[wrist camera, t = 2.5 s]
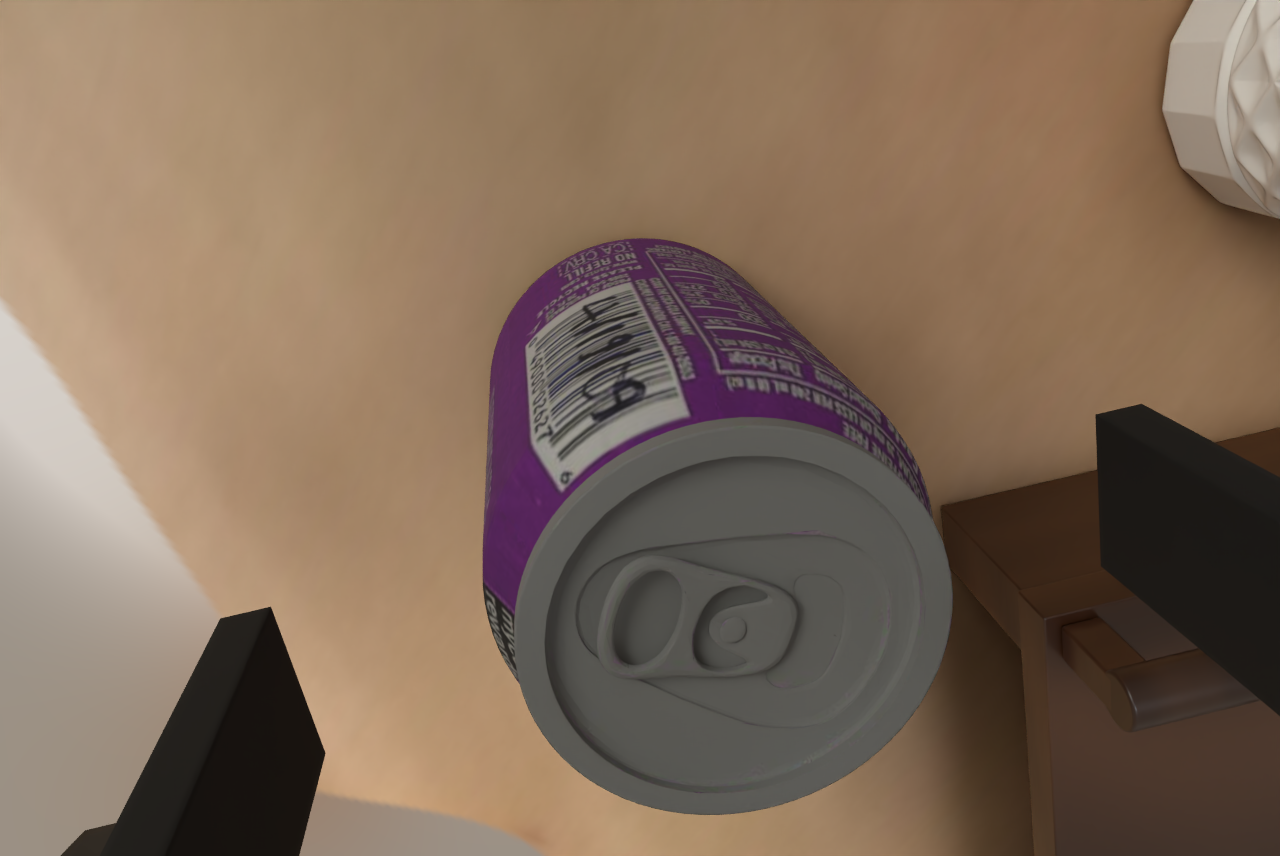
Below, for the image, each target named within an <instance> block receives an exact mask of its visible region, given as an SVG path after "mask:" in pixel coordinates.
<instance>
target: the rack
mask: <svg viewBox="0 0 1280 856" xmlns="http://www.w3.org/2000/svg"><path fill="white" fill-rule="evenodd" d="M1216 444H1218V445H1220V446H1222V447H1224V448H1225V449H1227V450H1229V451H1231V452H1233V453H1235V454H1237V455H1239V456H1241V457H1242V458H1244V459H1246V460H1248V461H1250V462H1252V463H1254V464H1256V465H1258V466H1259V467H1261V468H1263V469H1265V470H1267V471H1269V472H1271V473H1273V474H1274V475H1276V476H1278V477H1280V428H1276V429H1272V430H1268V431H1263V432H1259V433H1255V434H1251V435H1246V436H1242V437H1238V438H1233V439H1229V440H1225V441H1221V442H1216ZM941 513H942V524H943V535H944V546H945V551H946V554H947V558H948V561H949V567H950V568H951V569H952V570H953V572H954V573H955V574H956V575H957V576H958V577H959V578H960V580H961V581H962V582H963V583H964V584H965V585H966V587H967V588H968V589H969V590H970V591H971V592H972V594H973V595H974V596H975V597H976V598H977V599H978V601H979V602H980V603H981V604H982V605H983V606H984V608H985V609H986V610H987V611H988V612H989V613H990V615H991V616H992V617H993V618H994V619H995V620H996V621H997V623H998V624H999V625H1000V626H1001V627H1002V628H1003V630H1004V631H1005V632H1006V633H1007V634H1008V635H1009V637H1010V638H1011V639H1012V640H1013V641H1014V642H1015V644H1016V645H1017V646H1018V647H1019V648H1020V649H1021V652H1022V668H1023V685H1024V701H1025V717H1026V733H1027V749H1028V765H1029V782H1030V798H1031V814H1032V830H1033V846H1034V856H1280V716H1279V715H1278V714H1277V713H1275V712H1274V711H1273V710H1272V709H1271V708H1269V707H1268V706H1267V705H1266V704H1265V703H1264V702H1262V701H1261V700H1260V699H1259V698H1258V697H1256V696H1255V695H1254V694H1253V693H1252V692H1250V691H1249V690H1248V689H1247V688H1246V687H1244V686H1243V685H1242V684H1241V683H1240V682H1238V681H1237V680H1236V679H1235V678H1234V677H1232V676H1231V675H1230V674H1229V673H1228V672H1226V671H1225V670H1224V669H1223V668H1222V667H1221V666H1219V665H1218V664H1217V663H1216V662H1215V661H1213V660H1212V659H1211V658H1210V657H1209V656H1207V655H1206V654H1205V653H1204V652H1203V651H1201V650H1200V649H1199V648H1198V647H1197V646H1195V645H1194V644H1193V643H1192V642H1191V641H1189V640H1188V639H1187V638H1186V637H1185V636H1184V635H1182V634H1181V633H1180V632H1179V631H1178V630H1176V629H1175V628H1174V627H1173V626H1172V625H1170V624H1169V623H1168V622H1167V621H1166V620H1164V619H1163V618H1162V617H1161V616H1160V615H1158V614H1157V613H1156V612H1155V611H1154V610H1152V609H1151V608H1150V607H1149V606H1148V605H1147V604H1145V603H1144V602H1143V601H1142V600H1141V599H1139V598H1138V597H1137V596H1136V595H1135V594H1133V593H1132V592H1131V591H1130V590H1129V589H1127V588H1126V587H1125V586H1124V585H1123V584H1121V583H1120V582H1119V581H1118V580H1117V579H1115V578H1114V577H1113V576H1112V575H1111V574H1110V573H1108V572H1107V571H1106V570H1105V569H1104V568H1102V567H1101V559H1100V529H1099V500H1098V470H1096V471H1092V472H1087V473H1083V474H1079V475H1075V476H1070V477H1066V478H1062V479H1057V480H1053V481H1049V482H1044V483H1040V484H1036V485H1032V486H1027V487H1023V488H1019V489H1014V490H1010V491H1006V492H1002V493H997V494H993V495H989V496H984V497H980V498H976V499H971V500H967V501H963V502H959V503H954V504H950V505H946V506H942V507H941Z"/></svg>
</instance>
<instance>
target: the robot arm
mask: <svg viewBox="0 0 1280 856" xmlns="http://www.w3.org/2000/svg"><path fill="white" fill-rule="evenodd" d="M1096 440H1097V470H1098V500H1099V529H1100V559H1101V567H1102V568H1104V569H1105V570H1106V571H1107V572H1108V573H1110V574H1111V575H1112V576H1113V577H1114V578H1115V579H1117V580H1118V581H1119V582H1120V583H1121V584H1123V585H1124V586H1125V587H1126V588H1127V589H1129V590H1130V591H1131V592H1132V593H1133V594H1135V595H1136V596H1137V597H1138V598H1139V599H1141V600H1142V601H1143V602H1144V603H1145V604H1147V605H1148V606H1149V607H1150V608H1151V609H1152V610H1154V611H1155V612H1156V613H1157V614H1158V615H1160V616H1161V617H1162V618H1163V619H1164V620H1166V621H1167V622H1168V623H1169V624H1170V625H1172V626H1173V627H1174V628H1175V629H1176V630H1178V631H1179V632H1180V633H1181V634H1182V635H1184V636H1185V637H1186V638H1187V639H1188V640H1189V641H1191V642H1192V643H1193V644H1194V645H1195V646H1197V647H1198V648H1199V649H1200V650H1201V651H1203V652H1204V653H1205V654H1206V655H1207V656H1209V657H1210V658H1211V659H1212V660H1213V661H1215V662H1216V663H1217V664H1218V665H1219V666H1221V667H1222V668H1223V669H1224V670H1225V671H1226V672H1228V673H1229V674H1230V675H1231V676H1232V677H1234V678H1235V679H1236V680H1237V681H1238V682H1240V683H1241V684H1242V685H1243V686H1244V687H1246V688H1247V689H1248V690H1249V691H1250V692H1252V693H1253V694H1254V695H1255V696H1256V697H1258V698H1259V699H1260V700H1261V701H1262V702H1264V703H1265V704H1266V705H1267V706H1268V707H1269V708H1271V709H1272V710H1273V711H1274V712H1275V713H1277V714H1278V715H1279V716H1280V477H1278V476H1276V475H1274V474H1273V473H1271V472H1269V471H1267V470H1265V469H1263V468H1261V467H1259V466H1258V465H1256V464H1254V463H1252V462H1250V461H1248V460H1246V459H1244V458H1242V457H1241V456H1239V455H1237V454H1235V453H1233V452H1231V451H1229V450H1227V449H1225V448H1224V447H1222V446H1220V445H1218V444H1216V443H1214V442H1212V441H1210V440H1209V439H1207V438H1205V437H1203V436H1201V435H1199V434H1197V433H1195V432H1193V431H1192V430H1190V429H1188V428H1186V427H1184V426H1182V425H1180V424H1178V423H1176V422H1175V421H1173V420H1171V419H1169V418H1167V417H1165V416H1163V415H1161V414H1160V413H1158V412H1156V411H1154V410H1152V409H1150V408H1148V407H1146V406H1144V405H1143V404H1139V405H1135V406H1131V407H1127V408H1122V409H1118V410H1114V411H1109V412H1105V413H1101V414H1096ZM324 757H325V751H324V748H323V745H322V743H321V740H320V737H319V735H318V732H317V729H316V727H315V724H314V721H313V719H312V716H311V713H310V711H309V708H308V705H307V703H306V700H305V697H304V694H303V692H302V689H301V686H300V684H299V681H298V678H297V676H296V673H295V670H294V668H293V665H292V662H291V660H290V657H289V654H288V652H287V649H286V646H285V644H284V641H283V638H282V635H281V633H280V630H279V627H278V625H277V622H276V619H275V617H274V614H273V611H272V609H271V607H268V608H264V609H259V610H255V611H251V612H247V613H242V614H238V615H234V616H229V617H225V618H221V619H220V620H219V622H218V624H217V626H216V628H215V630H214V632H213V634H212V636H211V638H210V640H209V642H208V644H207V646H206V648H205V650H204V652H203V654H202V656H201V658H200V660H199V662H198V664H197V666H196V667H195V669H194V672H193V673H192V676H191V677H190V679H189V681H188V683H187V685H186V687H185V689H184V691H183V693H182V695H181V697H180V699H179V701H178V703H177V705H176V707H175V709H174V711H173V713H172V715H171V717H170V719H169V721H168V722H167V725H166V727H165V729H164V730H163V733H162V734H161V736H160V738H159V740H158V742H157V744H156V746H155V748H154V750H153V752H152V754H151V756H150V758H149V760H148V762H147V764H146V766H145V768H144V770H143V772H142V774H141V776H140V778H139V780H138V782H137V784H136V786H135V787H134V789H133V791H132V793H131V795H130V797H129V799H128V801H127V803H126V805H125V807H124V809H123V811H122V813H121V815H120V817H119V819H118V821H117V823H114V824H111V825H106V826H102V827H98V828H94V829H90V830H85V831H84V832H83V833H82V834H81V835H80V836H79V837H78V838H77V839H76V840H75V841H74V843H72V844H71V846H69V848H68V849H67V850H66V851H65V852H64V853H63V854H62V855H61V856H299V854H300V850H301V846H302V842H303V839H304V835H305V831H306V826H307V823H308V819H309V815H310V811H311V807H312V803H313V800H314V796H315V792H316V788H317V784H318V780H319V776H320V772H321V768H322V765H323V761H324Z"/></svg>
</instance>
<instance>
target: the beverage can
mask: <svg viewBox="0 0 1280 856" xmlns="http://www.w3.org/2000/svg"><path fill="white" fill-rule="evenodd" d="M483 590H484V599H485V605H486V610H487V615H488V619H489V623H490V626H491V629H492V633H493V636H494V638H495V641H496V643H497V646H498V648H499V650H500V652H501V654H502V656H503V658H504V660H505V662H506V664H507V665H508V667H509V669H510V670H511V672H512V673H513V675H514V677H515V678H516V680H517V681H518V682H519V684H520V686H521V690H522V693H523V696H524V699H525V701H526V704H527V706H528V709H529V711H530V713H531V715H532V717H533V719H534V721H535V722H536V724H537V726H538V727H539V729H540V730H541V732H542V734H543V735H544V736H545V738H546V739H547V740H548V742H549V743H550V744H551V746H552V747H553V748H554V749H555V750H556V751H557V752H558V753H559V755H560V756H561V757H562V758H563V759H564V760H565V761H567V762H568V763H569V764H570V765H571V766H572V767H573V768H574V769H576V770H577V771H578V772H579V773H581V774H582V775H583V776H584V777H586V778H587V779H589V780H590V781H592V782H594V783H595V784H597V785H598V786H600V787H602V788H604V789H605V790H607V791H609V792H611V793H613V794H615V795H618V796H620V797H622V798H624V799H627V800H630V801H632V802H635V803H638V804H641V805H644V806H648V807H651V808H655V809H660V810H665V811H670V812H677V813H684V814H697V815H722V814H736V813H744V812H751V811H756V810H761V809H766V808H770V807H774V806H778V805H781V804H784V803H788V802H791V801H794V800H797V799H799V798H802V797H804V796H807V795H809V794H812V793H814V792H816V791H818V790H820V789H823V788H825V787H827V786H828V785H830V784H832V783H834V782H836V781H838V780H839V779H841V778H843V777H844V776H846V775H847V774H849V773H851V772H852V771H854V770H855V769H857V768H858V767H859V766H861V765H862V764H864V763H865V762H866V761H867V760H869V759H870V758H871V757H872V756H874V755H875V754H876V753H877V752H878V751H880V750H881V749H882V748H883V747H884V746H885V745H886V744H887V743H888V742H889V741H890V740H891V739H892V738H893V737H894V736H895V735H896V734H897V733H898V732H899V731H900V730H901V728H902V727H903V726H904V725H905V724H906V722H907V721H908V720H909V719H910V717H911V716H912V715H913V713H914V712H915V710H916V709H917V708H918V706H919V705H920V703H921V702H922V700H923V698H924V697H925V695H926V693H927V692H928V690H929V688H930V686H931V684H932V682H933V680H934V678H935V676H936V674H937V671H938V669H939V667H940V664H941V661H942V658H943V655H944V652H945V649H946V645H947V641H948V637H949V633H950V626H951V620H952V608H953V589H952V579H951V572H950V567H949V561H948V558H947V554H946V551H945V547H944V544H943V542H942V539H941V537H940V534H939V532H938V530H937V528H936V526H935V524H934V522H933V517H932V511H931V506H930V501H929V496H928V493H927V489H926V486H925V482H924V480H923V477H922V474H921V472H920V469H919V467H918V465H917V463H916V461H915V459H914V457H913V455H912V453H911V451H910V449H909V448H908V446H907V445H906V443H905V441H904V440H903V438H902V437H901V435H900V434H899V433H898V431H897V430H896V429H895V427H894V426H893V425H892V423H891V422H890V421H889V419H888V418H887V417H886V416H885V415H884V414H883V413H882V412H881V411H880V409H879V408H878V407H877V406H876V405H875V404H873V403H872V402H871V401H870V400H869V399H868V398H867V397H866V396H865V395H864V394H863V393H862V392H861V391H860V390H859V389H858V388H857V387H856V386H855V385H854V384H853V383H852V382H851V381H850V380H848V379H847V378H846V377H845V376H844V375H843V374H842V373H841V372H840V371H839V370H838V369H837V368H836V367H835V366H834V365H833V364H832V363H831V362H830V361H829V360H828V359H827V358H826V357H825V356H824V355H822V354H821V353H820V352H819V351H818V350H817V349H816V348H815V347H814V346H813V345H812V344H811V343H810V342H809V341H808V340H807V339H806V338H805V337H804V336H803V335H802V334H801V333H800V332H799V331H797V330H796V329H795V328H794V327H793V326H792V325H791V324H790V323H789V322H788V321H787V320H786V319H785V318H784V317H783V316H782V315H781V314H780V313H779V312H778V311H777V310H776V309H775V308H774V307H772V306H771V305H770V304H769V303H768V302H767V301H766V300H765V299H764V298H763V297H762V296H761V295H760V294H759V293H758V292H757V291H756V290H755V289H754V288H753V287H752V286H751V285H750V284H749V283H748V282H746V281H745V280H744V279H743V278H742V277H741V276H740V275H739V274H738V273H737V272H736V271H734V270H733V269H732V268H730V267H729V266H728V265H726V264H725V263H723V262H722V261H720V260H719V259H717V258H715V257H714V256H712V255H710V254H708V253H706V252H704V251H701V250H699V249H697V248H694V247H691V246H688V245H685V244H681V243H677V242H673V241H667V240H661V239H646V238H637V239H624V240H617V241H612V242H608V243H603V244H600V245H597V246H593V247H590V248H588V249H585V250H583V251H580V252H578V253H576V254H574V255H572V256H570V257H568V258H566V259H565V260H563V261H561V262H560V263H558V264H557V265H555V266H554V267H552V268H551V269H549V270H548V271H547V272H546V273H544V274H543V275H542V276H541V277H540V278H538V279H537V280H536V281H535V282H534V283H533V284H532V285H531V286H530V287H529V289H528V290H527V291H526V292H525V293H524V294H523V295H522V297H521V298H520V299H519V301H518V302H517V303H516V305H515V306H514V308H513V309H512V311H511V313H510V314H509V316H508V318H507V320H506V322H505V324H504V326H503V328H502V330H501V333H500V335H499V338H498V341H497V344H496V347H495V351H494V355H493V360H492V366H491V377H490V397H489V420H488V442H487V465H486V488H485V511H484V534H483Z"/></svg>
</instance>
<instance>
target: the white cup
mask: <svg viewBox="0 0 1280 856" xmlns="http://www.w3.org/2000/svg"><path fill="white" fill-rule="evenodd" d="M1162 111H1163V115H1164V118H1165V121H1166V124H1167V127H1168V130H1169V133H1170V136H1171V139H1172V143H1173V146H1174V149H1175V152H1176V155H1177V158H1178V162H1179V164H1180V166H1181V168H1182V169H1184V170H1185V171H1186V172H1187V173H1188V174H1189V175H1190V176H1191V177H1192V178H1194V179H1195V180H1196V181H1197V182H1198V183H1199V184H1200V185H1201V186H1202V187H1203V188H1205V189H1206V190H1207V191H1208V192H1209V193H1210V194H1211V195H1212V196H1213V197H1214V198H1216V199H1217V200H1218V201H1219V202H1221V203H1223V204H1226V205H1230V206H1233V207H1237V208H1241V209H1244V210H1248V211H1252V212H1255V213H1259V214H1263V215H1266V216H1270V217H1274V218H1277V219H1280V0H1193V2H1192V4H1191V6H1190V7H1189V9H1188V11H1187V13H1186V15H1185V17H1184V19H1183V20H1182V22H1181V24H1180V26H1179V28H1178V30H1177V32H1176V34H1175V35H1174V37H1173V39H1172V41H1171V44H1170V50H1169V58H1168V66H1167V74H1166V82H1165V90H1164V98H1163V106H1162Z"/></svg>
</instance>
